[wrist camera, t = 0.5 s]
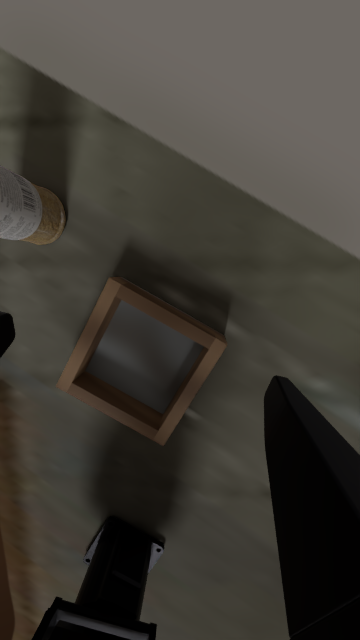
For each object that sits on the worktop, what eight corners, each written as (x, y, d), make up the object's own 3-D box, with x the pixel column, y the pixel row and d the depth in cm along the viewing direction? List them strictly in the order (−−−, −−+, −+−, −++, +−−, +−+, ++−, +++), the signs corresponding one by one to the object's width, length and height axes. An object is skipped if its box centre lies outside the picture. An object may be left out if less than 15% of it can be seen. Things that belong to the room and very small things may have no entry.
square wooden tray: (168, 425, 24) (163, 446, 21) (73, 372, 24) (55, 386, 21) (224, 335, 22) (227, 344, 19) (121, 276, 22) (109, 277, 19)
